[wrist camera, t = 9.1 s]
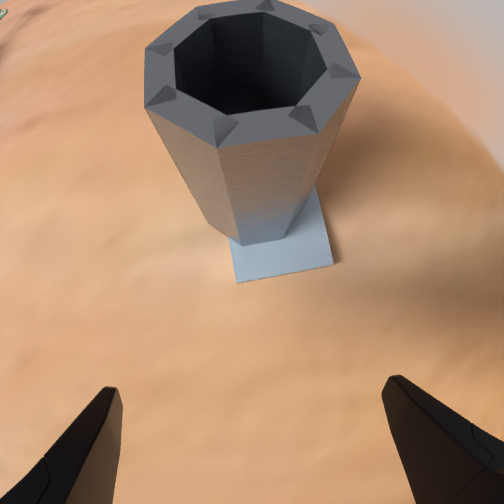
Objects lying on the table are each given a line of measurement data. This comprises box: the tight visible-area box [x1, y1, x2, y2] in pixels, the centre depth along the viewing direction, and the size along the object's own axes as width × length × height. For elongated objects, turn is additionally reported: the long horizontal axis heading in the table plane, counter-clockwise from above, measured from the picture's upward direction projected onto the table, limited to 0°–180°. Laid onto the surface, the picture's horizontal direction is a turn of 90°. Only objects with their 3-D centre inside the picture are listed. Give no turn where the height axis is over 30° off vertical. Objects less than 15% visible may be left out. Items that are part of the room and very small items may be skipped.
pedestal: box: [229, 185, 334, 283], centre depth 19 cm, size 11×6×3 cm, turn 10°
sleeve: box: [144, 0, 361, 246], centre depth 14 cm, size 6×6×12 cm
